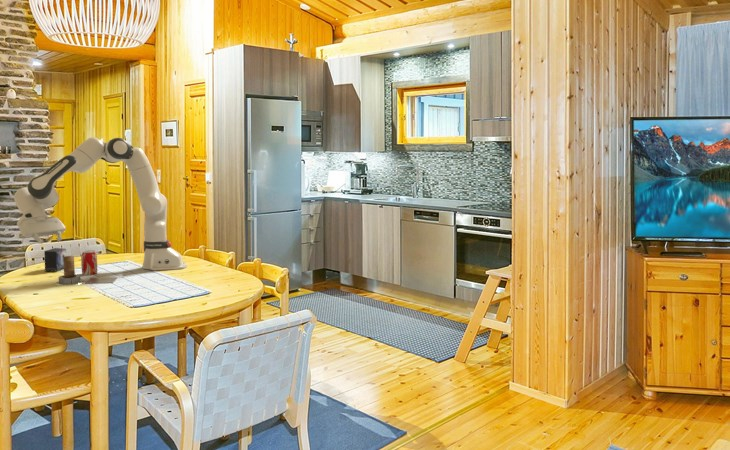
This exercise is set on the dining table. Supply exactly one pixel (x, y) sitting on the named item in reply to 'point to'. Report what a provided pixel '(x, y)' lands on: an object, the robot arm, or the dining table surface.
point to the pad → (101, 280)
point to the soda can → (89, 263)
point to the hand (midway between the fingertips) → (51, 241)
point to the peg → (69, 266)
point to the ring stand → (69, 281)
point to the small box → (54, 259)
